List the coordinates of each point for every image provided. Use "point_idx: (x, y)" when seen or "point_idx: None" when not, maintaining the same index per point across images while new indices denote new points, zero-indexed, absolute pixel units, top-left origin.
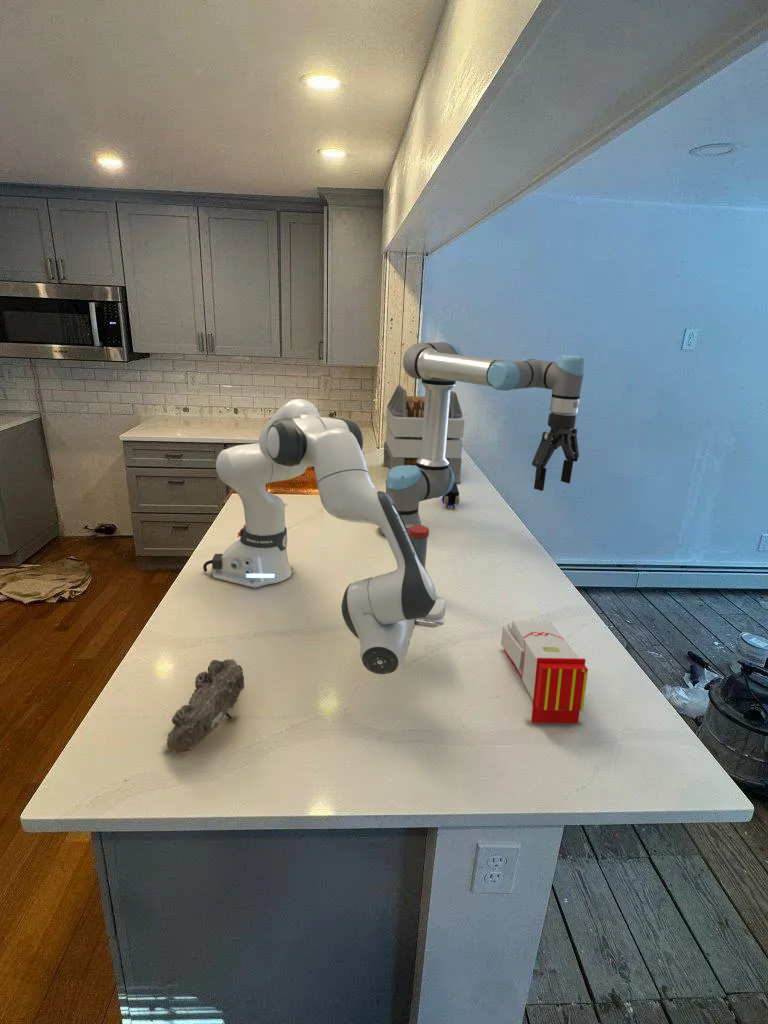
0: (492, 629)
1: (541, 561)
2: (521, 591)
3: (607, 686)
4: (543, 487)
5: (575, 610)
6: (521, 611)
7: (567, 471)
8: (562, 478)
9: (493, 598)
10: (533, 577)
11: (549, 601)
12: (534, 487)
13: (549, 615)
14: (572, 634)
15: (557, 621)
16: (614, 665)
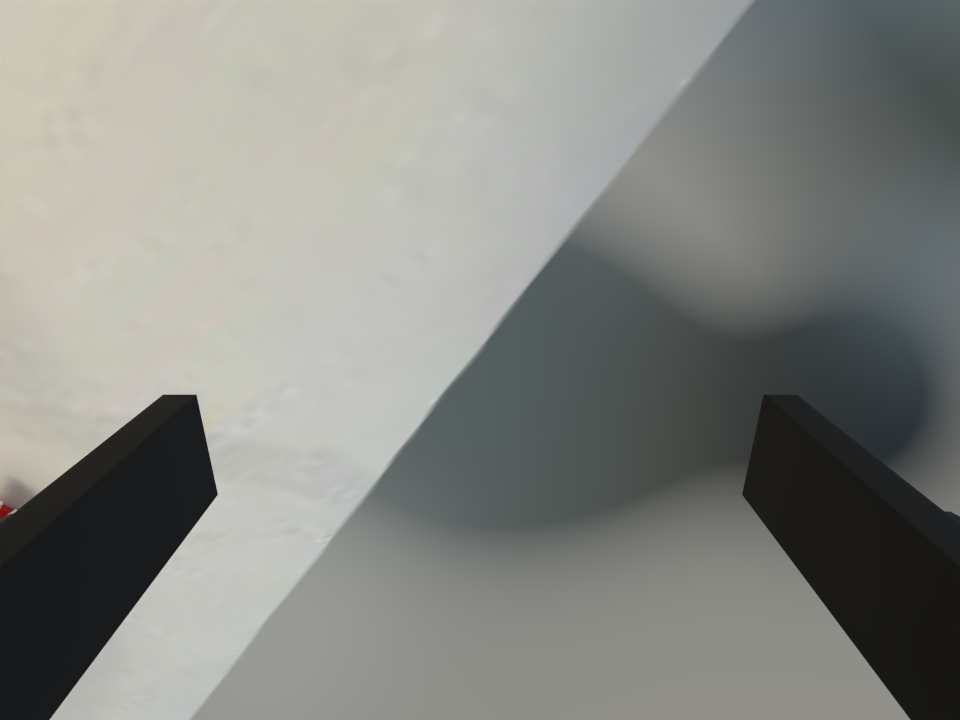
0: (6, 401)
1: (591, 177)
2: (279, 302)
3: (121, 669)
4: (190, 520)
5: (339, 479)
6: (171, 388)
7: (839, 564)
8: (780, 434)
9: (139, 274)
10: (419, 257)
11: (312, 403)
12: (154, 410)
13: (238, 451)
14: (217, 538)
15: (233, 483)
16: (201, 647)
